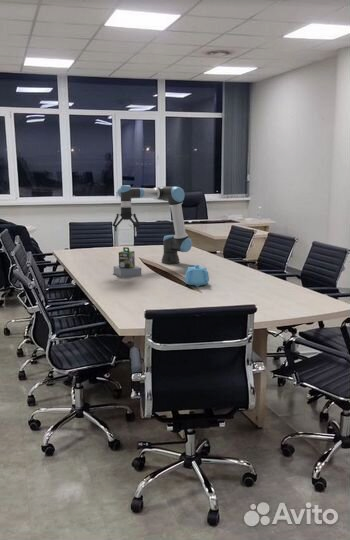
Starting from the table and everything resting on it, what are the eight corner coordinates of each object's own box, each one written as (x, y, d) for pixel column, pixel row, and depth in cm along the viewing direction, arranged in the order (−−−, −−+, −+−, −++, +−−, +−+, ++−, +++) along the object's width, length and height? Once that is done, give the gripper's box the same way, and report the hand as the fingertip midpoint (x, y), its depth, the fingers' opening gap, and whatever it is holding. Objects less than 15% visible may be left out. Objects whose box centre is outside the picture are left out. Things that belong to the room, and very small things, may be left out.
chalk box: (135, 266, 368) (135, 246, 365) (129, 268, 359) (129, 248, 357) (123, 265, 371) (123, 246, 368) (118, 267, 362) (118, 247, 360)
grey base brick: (113, 274, 370) (113, 266, 368) (133, 272, 377) (133, 264, 375) (120, 278, 355) (120, 269, 354) (141, 276, 362) (141, 268, 361)
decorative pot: (183, 287, 324) (183, 267, 322) (185, 281, 340) (185, 262, 337) (208, 287, 323) (208, 267, 320) (209, 282, 338) (209, 263, 336)
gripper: (108, 207, 354) (108, 236, 358) (142, 207, 352) (142, 236, 356) (110, 206, 362) (111, 235, 366) (143, 206, 359) (144, 235, 363)
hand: (126, 236), depth 361 cm, fingers open, 13 cm apart
